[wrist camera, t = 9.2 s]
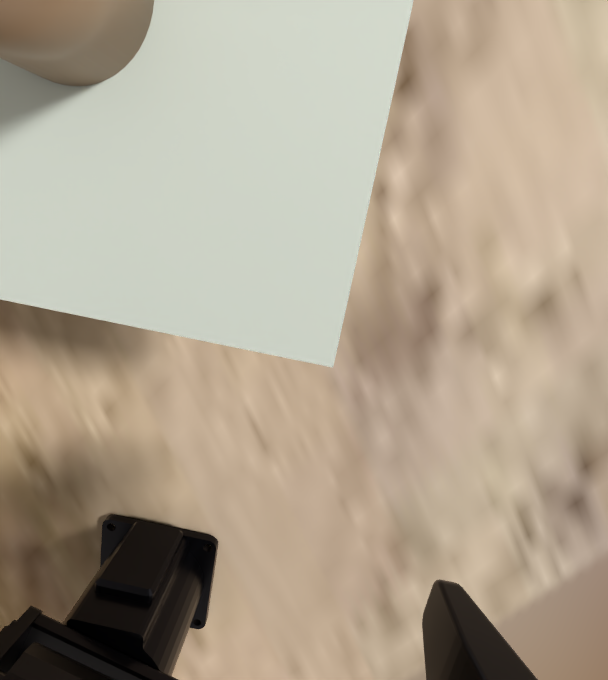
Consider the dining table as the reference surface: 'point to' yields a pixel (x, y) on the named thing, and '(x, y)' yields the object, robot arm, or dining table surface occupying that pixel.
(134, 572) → the robot arm
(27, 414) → the dining table surface
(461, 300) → the dining table surface
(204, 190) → the panel
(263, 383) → the dining table surface
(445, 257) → the dining table surface
